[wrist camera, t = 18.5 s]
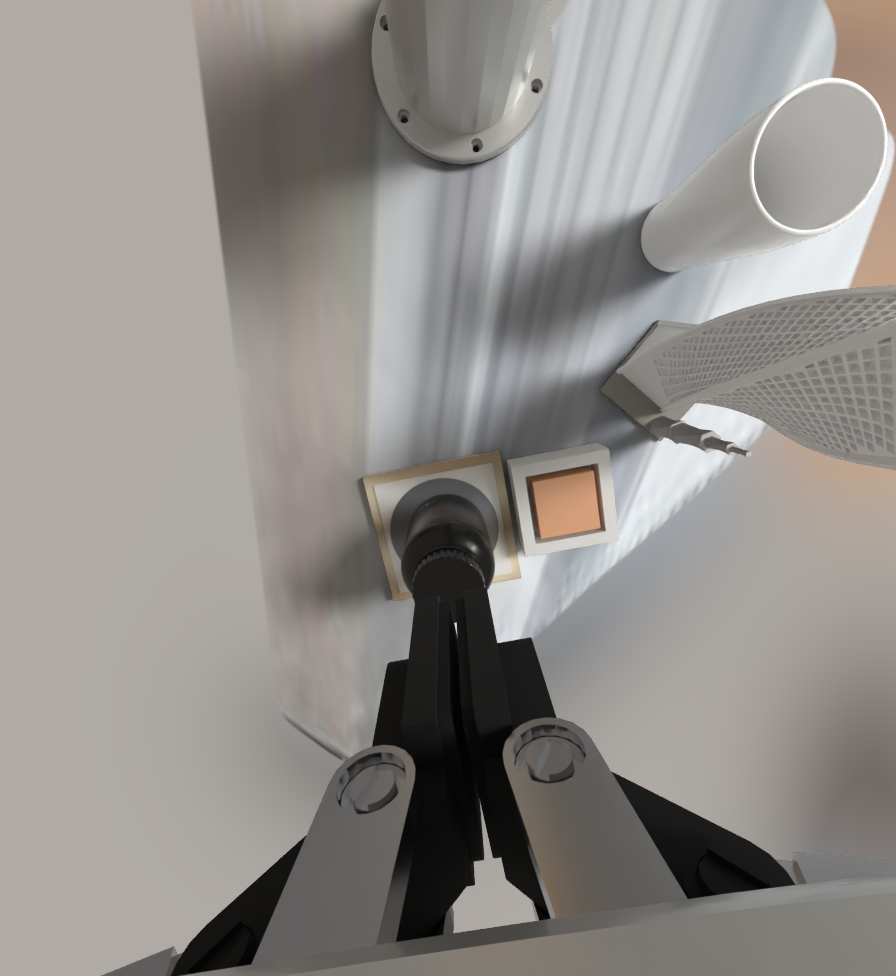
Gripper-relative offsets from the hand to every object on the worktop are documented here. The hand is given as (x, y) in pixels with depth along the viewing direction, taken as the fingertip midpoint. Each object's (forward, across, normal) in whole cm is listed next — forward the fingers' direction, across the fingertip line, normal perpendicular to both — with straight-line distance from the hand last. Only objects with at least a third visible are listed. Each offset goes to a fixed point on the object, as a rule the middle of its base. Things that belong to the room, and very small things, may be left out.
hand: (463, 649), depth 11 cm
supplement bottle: (+30, +2, +8) cm, 31 cm away
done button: (+30, -9, +7) cm, 32 cm away
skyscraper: (+31, -18, -2) cm, 36 cm away
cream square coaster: (+31, +2, +8) cm, 32 cm away
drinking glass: (+31, -20, -12) cm, 39 cm away
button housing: (+31, -8, +7) cm, 33 cm away
